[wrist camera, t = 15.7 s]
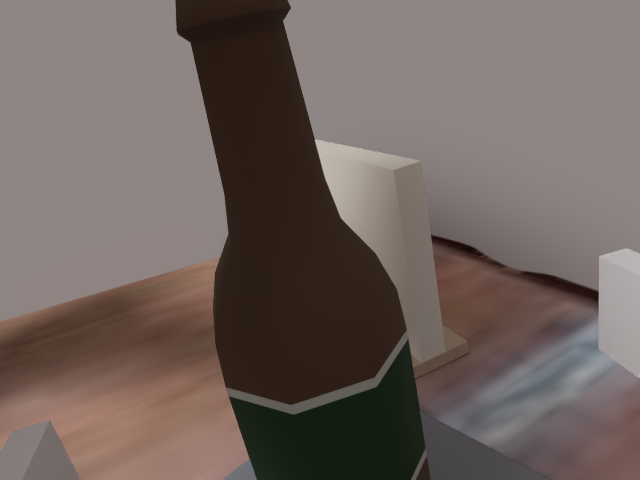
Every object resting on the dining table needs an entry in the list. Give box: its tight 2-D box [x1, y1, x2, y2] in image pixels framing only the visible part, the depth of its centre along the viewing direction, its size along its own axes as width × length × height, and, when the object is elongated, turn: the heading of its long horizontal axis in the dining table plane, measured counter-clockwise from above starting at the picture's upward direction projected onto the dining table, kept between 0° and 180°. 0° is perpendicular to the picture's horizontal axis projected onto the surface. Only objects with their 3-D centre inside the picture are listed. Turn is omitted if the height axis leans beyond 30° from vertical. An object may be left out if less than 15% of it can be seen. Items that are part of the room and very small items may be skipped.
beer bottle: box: [176, 0, 431, 480], centre depth 19 cm, size 8×8×24 cm
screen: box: [315, 140, 469, 379], centre depth 41 cm, size 20×6×15 cm, turn 24°
